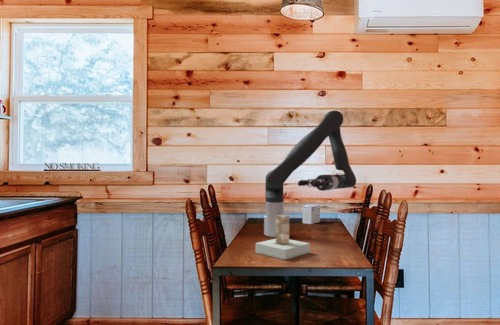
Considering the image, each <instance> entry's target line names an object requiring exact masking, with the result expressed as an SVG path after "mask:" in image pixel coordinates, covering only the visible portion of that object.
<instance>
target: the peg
mask: <svg viewBox="0 0 500 325" xmlns="http://www.w3.org/2000/svg"><path fill="white" fill-rule="evenodd" d="M275 239H276V244H278V245H283V246H284V245H288V244H289V239H290V215H286V214H284V215H277V216H276V237H275Z"/></svg>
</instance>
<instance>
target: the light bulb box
mask: <svg viewBox="0 0 500 325" xmlns="http://www.w3.org/2000/svg"><path fill="white" fill-rule="evenodd" d="M301 207H302V208H301V211H302V215H301V216H302V224H308V225H313V224H317V223H320V222H321V205H320V204H314V203H313V204H312V203H311V204H306V205H302V206H301Z"/></svg>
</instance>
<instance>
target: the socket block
mask: <svg viewBox="0 0 500 325" xmlns="http://www.w3.org/2000/svg"><path fill="white" fill-rule="evenodd" d="M310 245H311V244H310V243H309V242H305V241H301V240H295V239H290V238H289V244H288V245H284V246H283V245H278V244H276V238H272V239H268V240H263V241H259V242H258V241H257V242H255V251H254V252H255V253H256V254H259V255H263V256H267V257H270V258H275V259H279V260H283V261H287V260H290V259H293V258H296V257H301V256H304V255H308V254H310V253H311V252H310V249H311V248H310V247H311V246H310Z"/></svg>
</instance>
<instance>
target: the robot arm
mask: <svg viewBox="0 0 500 325" xmlns="http://www.w3.org/2000/svg"><path fill="white" fill-rule="evenodd" d="M343 123H344V115H343V113H342V112H341V111H339V110H330V111H328V112H327V113H326V114H325V115H324V116H323V119H322V120H321V121H320V122H319V123H318V125H317V126H316V127H315V128H314V129H312V130H311V131H310V132H309V133H308V134H306V135H305V136H303V137H302V138H301V139H300V140H299V141H298V142H297V143H296V145H294V146H293V147H292V149H290V151H289V153H288V154H287V155H286V156H285V158H284V159H283V161H281V162H280V163H279V164H278V165H277V166H276V167H275V168H274V169H272V170H270V171H268V172H267V173H266V175H265V194H264V196H265V215H264V217H263V235H265V236H266V237H271V238H276V216H277V215H285V214H284V212H285V210H284V209H285V208H284V204H285V203H284V200H285V198H284V197H285V196H284V184H285V182H286V181H287V180H288V178H289V177H290V176H291V175H292V173H293V172H295V171H296V170H297V169H298V168H299V167H301V166H302V165H303V164H304V163H305V162H306V161H308V160H309V158H310V157H311V156H312V155H313V154H314V153H315V152H316V151H317V150H318V149H319V147H320V146H321V145H322V144H323V142H324V141H325V140H326V139H327V138H328V139H329V144H330V148H331V153H332V157H333V163H334V166H335V169H336V170H337V171H341V172H343V174H329V173H328V174H319V175H317V177H315V178H313V179H311V178H308V179H300V180H299V181H297V185H298V187H306V186H307V187H310V188H311V187H312V188H316V189H317V190H319V191H322V192H324V191H325V192H326V191H332V190H339V189H347V188H353V187H355V186H356V184H357V178H356V175H355V173H354V171H353V169H352V167H351V165H350V162H349V156H348V153H347V149H346V147H345V145H344V141H343V138H342V133H341V126H342V125H343Z"/></svg>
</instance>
